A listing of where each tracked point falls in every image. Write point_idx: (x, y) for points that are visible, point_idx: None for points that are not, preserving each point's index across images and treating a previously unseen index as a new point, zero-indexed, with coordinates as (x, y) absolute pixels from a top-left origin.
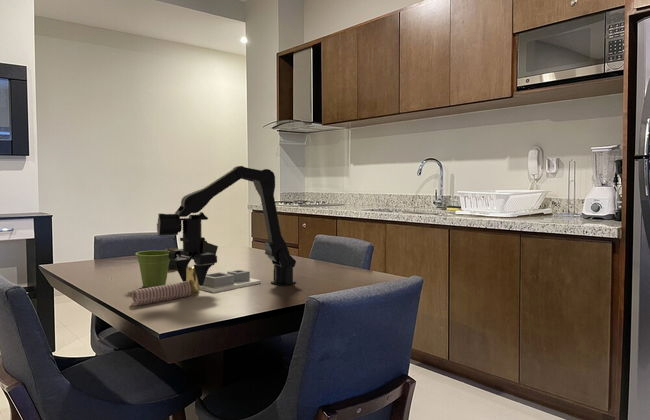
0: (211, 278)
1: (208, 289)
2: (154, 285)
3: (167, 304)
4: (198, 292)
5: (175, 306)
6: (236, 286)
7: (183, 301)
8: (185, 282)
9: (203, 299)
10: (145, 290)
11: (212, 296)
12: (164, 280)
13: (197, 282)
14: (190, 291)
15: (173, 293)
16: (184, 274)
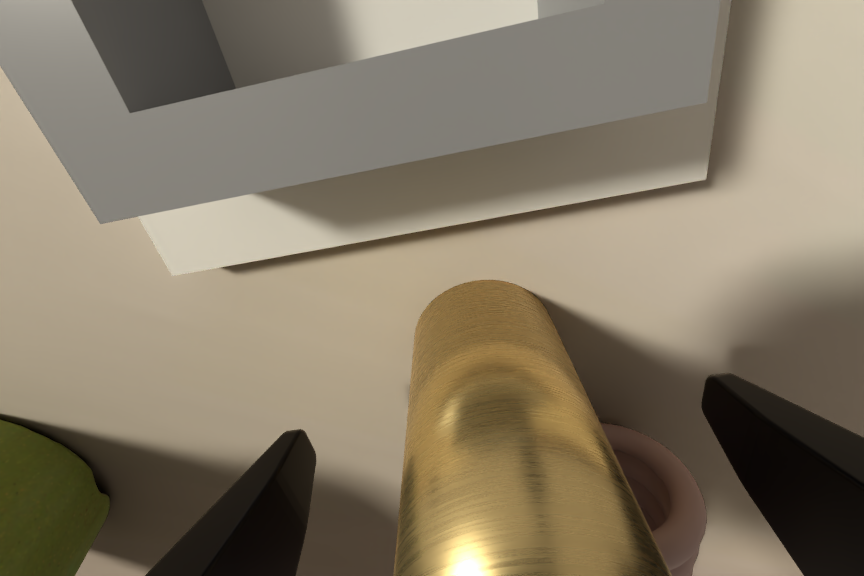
0: (578, 125)
1: (588, 196)
2: (99, 517)
3: (706, 561)
4: (543, 306)
5: None
6: None
7: (731, 489)
8: None
9: (839, 371)
10: None
11: (834, 256)
12: (6, 488)
13: (592, 407)
14: (683, 464)
15: None
16: (268, 546)
